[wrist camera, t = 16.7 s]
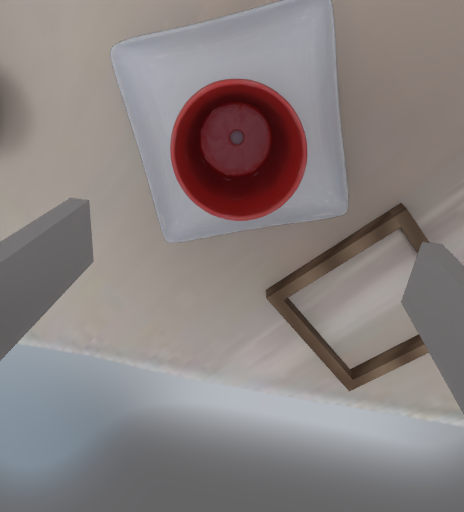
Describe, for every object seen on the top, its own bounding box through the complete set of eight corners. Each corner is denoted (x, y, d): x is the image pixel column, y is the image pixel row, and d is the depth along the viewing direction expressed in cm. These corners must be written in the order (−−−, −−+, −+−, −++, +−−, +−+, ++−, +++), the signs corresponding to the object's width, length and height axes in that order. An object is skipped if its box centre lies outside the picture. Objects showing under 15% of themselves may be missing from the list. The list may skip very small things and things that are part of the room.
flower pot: (269, 60, 35) (283, 53, 27) (302, 170, 40) (323, 196, 31) (165, 103, 37) (145, 110, 28) (207, 205, 41) (202, 239, 32)
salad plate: (326, -8, 36) (332, -16, 32) (345, 206, 44) (351, 216, 41) (116, 46, 39) (103, 44, 36) (172, 234, 48) (165, 246, 45)
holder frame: (401, 203, 43) (406, 208, 41) (476, 315, 49) (484, 325, 47) (266, 289, 49) (266, 298, 48) (346, 380, 55) (349, 391, 53)
